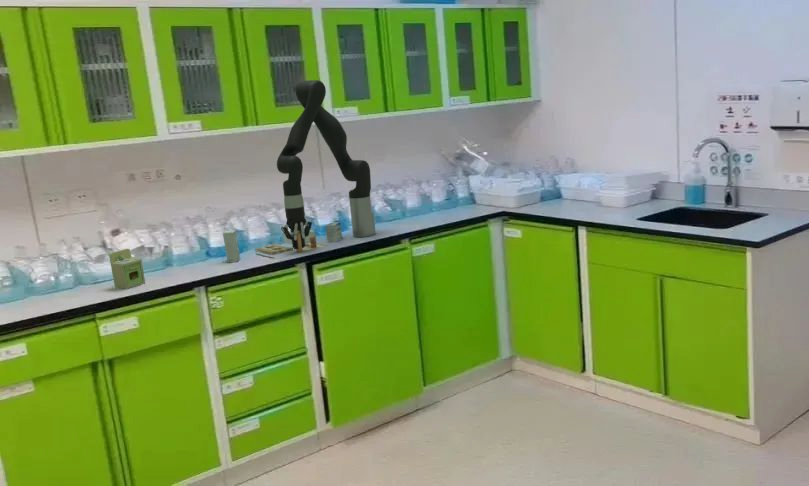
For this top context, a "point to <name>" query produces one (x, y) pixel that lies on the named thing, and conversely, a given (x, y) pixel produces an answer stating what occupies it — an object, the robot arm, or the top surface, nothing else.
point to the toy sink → (126, 269)
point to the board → (312, 244)
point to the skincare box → (231, 246)
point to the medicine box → (333, 232)
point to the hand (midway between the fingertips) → (299, 248)
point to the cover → (307, 238)
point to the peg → (299, 242)
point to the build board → (273, 250)
